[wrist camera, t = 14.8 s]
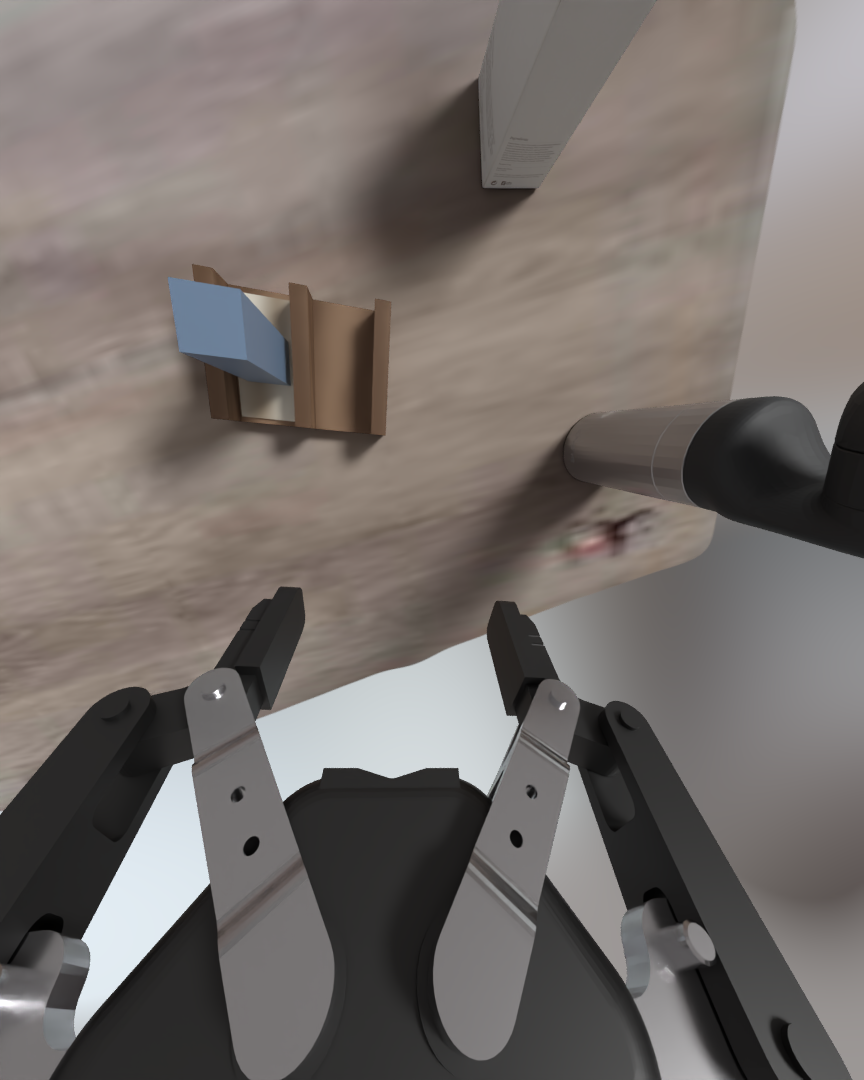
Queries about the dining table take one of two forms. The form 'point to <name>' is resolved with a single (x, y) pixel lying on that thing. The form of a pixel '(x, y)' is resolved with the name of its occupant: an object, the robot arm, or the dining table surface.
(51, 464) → the dining table surface
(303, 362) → the rack
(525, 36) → the skincare box
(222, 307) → the block
